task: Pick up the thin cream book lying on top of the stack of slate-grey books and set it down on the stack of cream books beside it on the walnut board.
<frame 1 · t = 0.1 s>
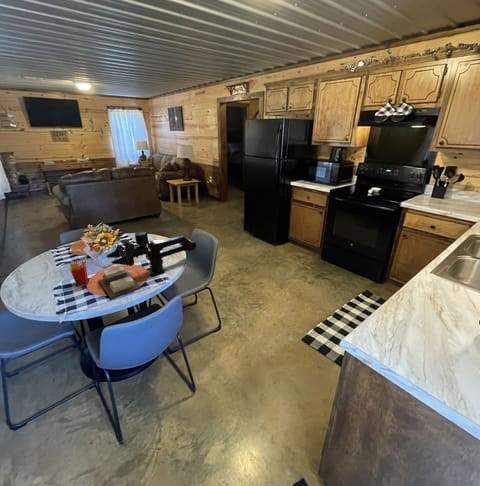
hand: (109, 259, 141), 17 cm above the table, tool horizontal, fingers open, 9 cm apart
grey books: (116, 280, 152), resting on walnut board
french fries: (83, 283, 149), on the table
cream books: (122, 288, 144), resting on walnut board
cream book: (114, 273, 150), point 5 cm above the table, touching grey books
walnut board: (119, 285, 148), on the table
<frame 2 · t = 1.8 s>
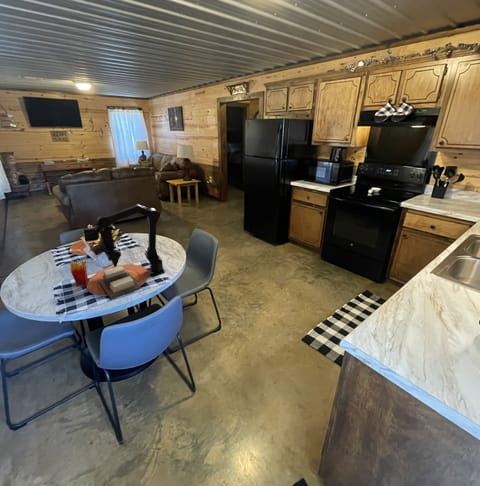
hand: (112, 263, 148), 11 cm above the table, tool pointing down, fingers open, 9 cm apart
nothing on the table moved.
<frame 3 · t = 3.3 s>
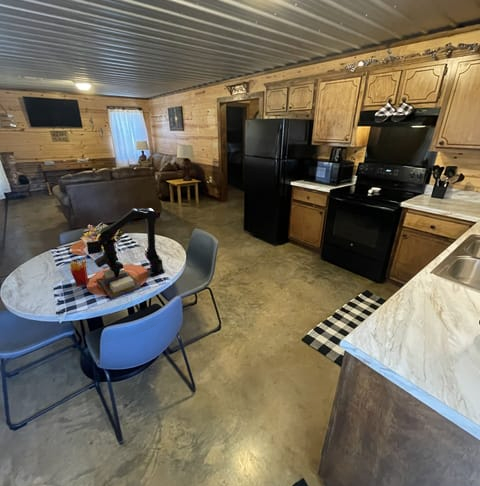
hand: (115, 274, 151), 4 cm above the table, tool pointing down, fingers closed on cream book, 6 cm apart
cream book: (114, 273, 150), point 5 cm above the table, touching grey books, gripper
everything else where it was.
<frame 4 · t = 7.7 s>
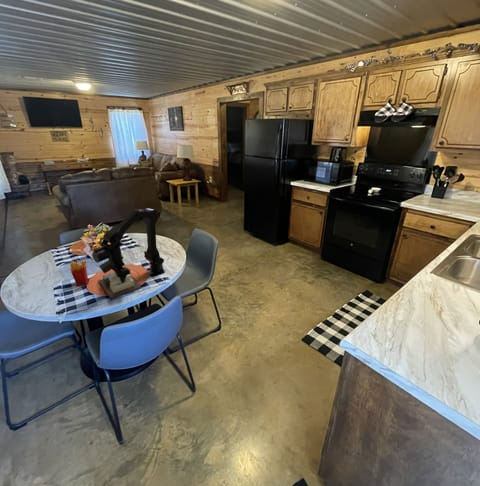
hand: (121, 280, 142), 5 cm above the table, tool pointing down, fingers closed on cream book, 6 cm apart
cream book: (120, 279, 142), point 6 cm above the table, touching gripper
everything else where it was.
when the fingers open (4 cm above the table, at t = 11.5 s): cream book stays where it is, resting on cream books.
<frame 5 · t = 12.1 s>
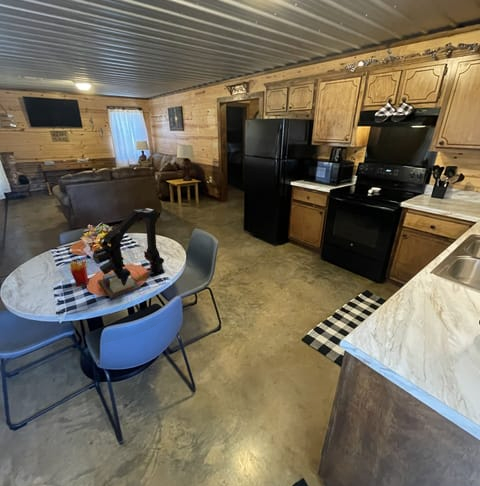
hand: (121, 281, 143), 4 cm above the table, tool pointing down, fingers open, 9 cm apart
cream book: (121, 281, 143), point 5 cm above the table, touching cream books
everything else where it was.
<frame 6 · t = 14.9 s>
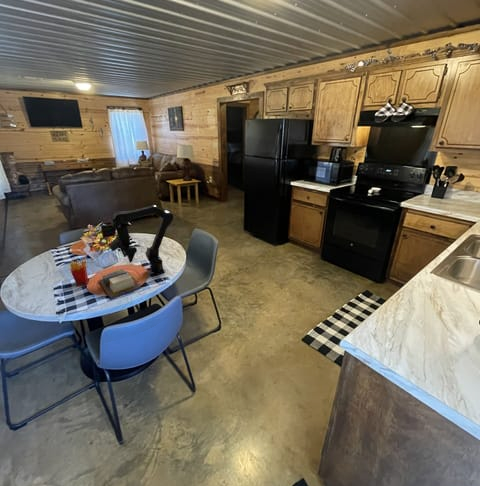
hand: (127, 259, 151), 12 cm above the table, tool pointing down, fingers open, 9 cm apart
nothing on the table moved.
at the end: cream book 0.0 cm off-centre on the cream books, point 4.8 cm above the cream books's base; cream book tilted 0°; the gripper is holding nothing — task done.
